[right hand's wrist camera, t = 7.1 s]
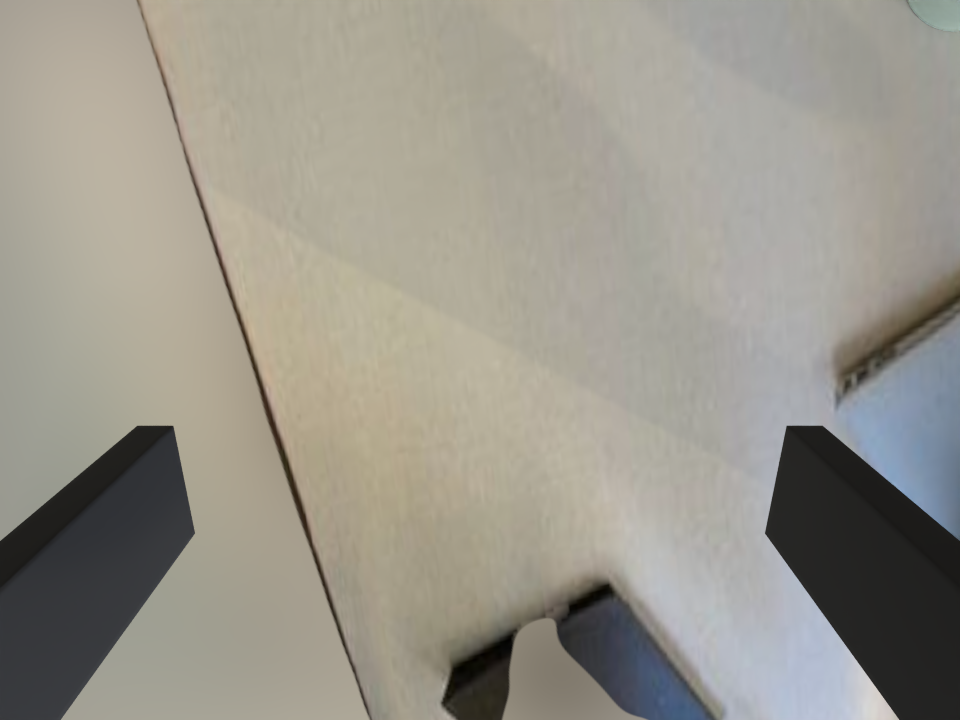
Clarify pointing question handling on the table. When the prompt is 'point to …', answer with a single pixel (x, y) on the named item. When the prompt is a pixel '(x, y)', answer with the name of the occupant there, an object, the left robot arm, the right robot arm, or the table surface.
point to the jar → (938, 13)
